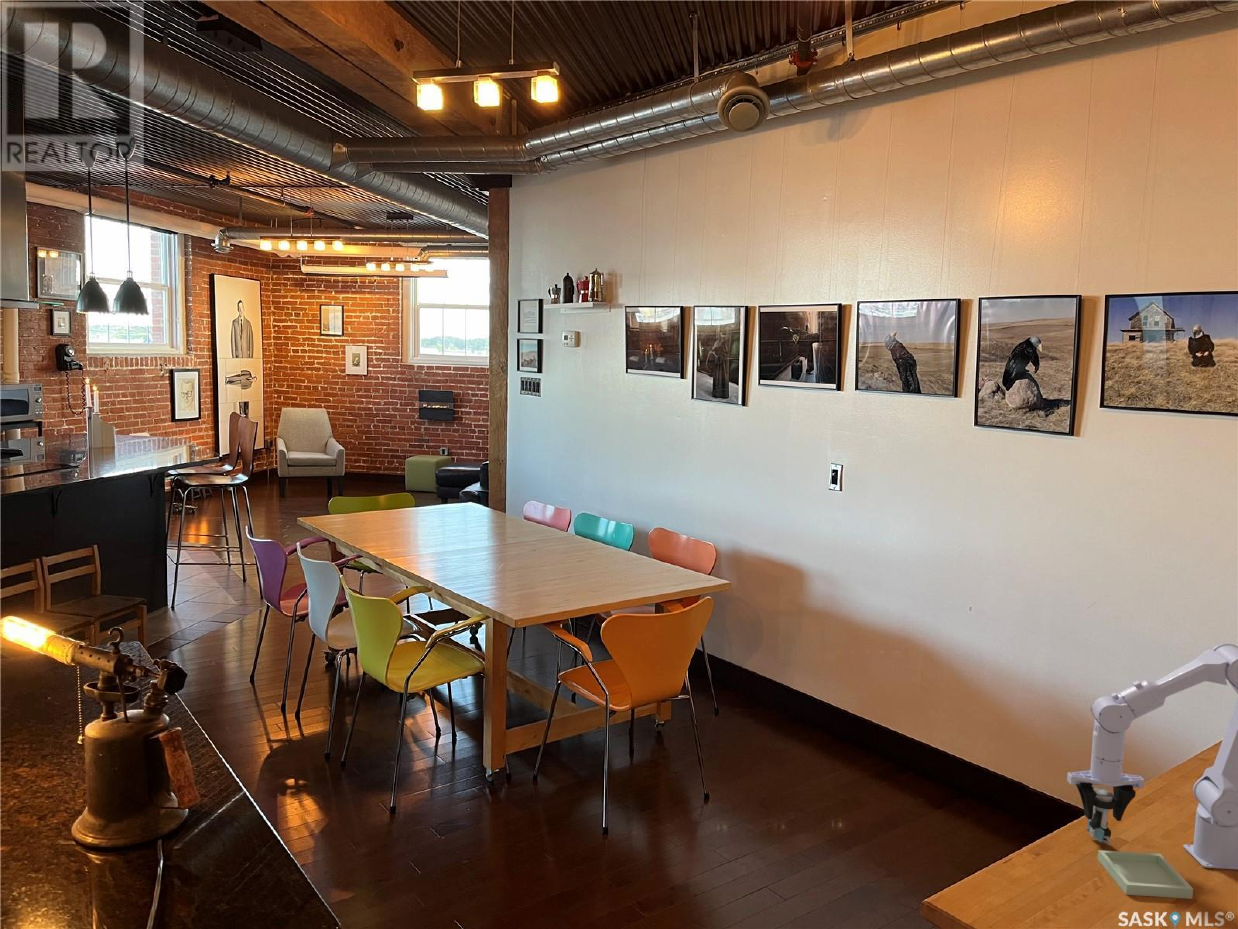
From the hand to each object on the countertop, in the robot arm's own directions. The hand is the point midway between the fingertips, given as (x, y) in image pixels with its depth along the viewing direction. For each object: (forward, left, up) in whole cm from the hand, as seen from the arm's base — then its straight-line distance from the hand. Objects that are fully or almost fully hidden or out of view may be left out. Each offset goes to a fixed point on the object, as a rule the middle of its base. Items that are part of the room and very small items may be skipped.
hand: (1102, 818), depth 185 cm
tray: (-3, +12, -6) cm, 14 cm away
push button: (0, 0, -5) cm, 5 cm away
